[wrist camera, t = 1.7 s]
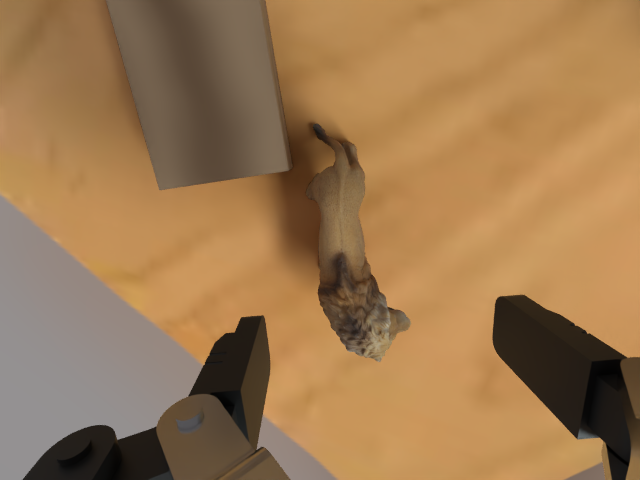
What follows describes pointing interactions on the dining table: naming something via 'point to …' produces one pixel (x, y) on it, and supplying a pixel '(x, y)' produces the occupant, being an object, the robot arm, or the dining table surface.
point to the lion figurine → (349, 259)
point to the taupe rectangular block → (204, 88)
